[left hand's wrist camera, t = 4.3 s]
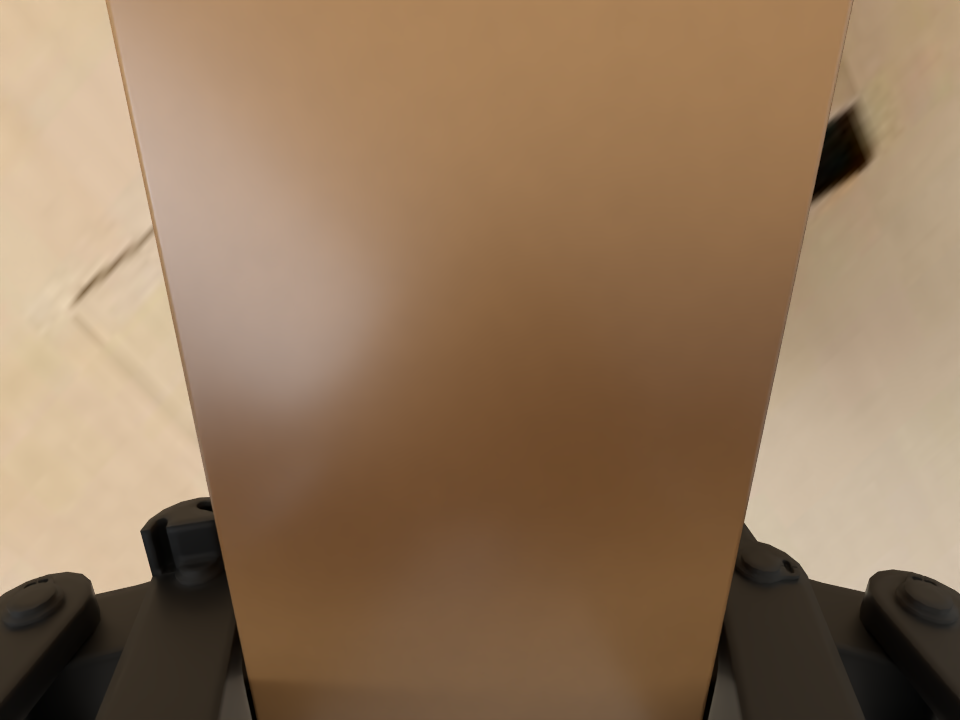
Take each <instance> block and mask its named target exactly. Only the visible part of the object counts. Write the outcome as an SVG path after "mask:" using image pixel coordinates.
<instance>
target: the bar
mask: <svg viewBox="0 0 960 720" xmlns="http://www.w3.org/2000/svg"><path fill="white" fill-rule="evenodd" d="M106 5H107V9H108V14H109V19H110V24H111V28H112V33H113V38H114V43H115V47H116V52H117V57H118V62H119V66H120V71H121V76H122V81H123V86H124V90H125V95H126V100H127V105H128V109H129V114H130V119H131V124H132V128H133V133H134V138H135V143H136V147H137V152H138V157H139V162H140V166H141V171H142V176H143V181H144V185H145V190H146V195H147V200H148V204H149V209H150V214H151V219H152V223H153V228H154V233H155V238H156V243H157V247H158V252H159V257H160V262H161V266H162V271H163V276H164V281H165V285H166V290H167V295H168V300H169V304H170V309H171V314H172V319H173V323H174V328H175V333H176V338H177V342H178V347H179V352H180V357H181V361H182V366H183V371H184V376H185V381H186V385H187V390H188V395H189V400H190V404H191V409H192V414H193V419H194V423H195V428H196V433H197V438H198V442H199V447H200V452H201V457H202V461H203V466H204V471H205V476H206V480H207V485H208V490H209V495H210V499H211V504H212V509H213V514H214V519H215V523H216V528H217V533H218V538H219V542H220V547H221V552H222V557H223V561H224V566H225V571H226V576H227V580H228V585H229V590H230V595H231V599H232V604H233V609H234V614H235V618H236V623H237V628H238V633H239V637H240V642H241V647H242V652H243V657H244V661H245V666H246V671H247V676H248V680H249V685H250V690H251V695H252V699H253V704H254V709H255V714H256V718H257V720H703V715H704V710H705V705H706V701H707V696H708V691H709V686H710V682H711V677H712V672H713V667H714V662H715V658H716V653H717V648H718V643H719V639H720V634H721V629H722V624H723V620H724V615H725V610H726V605H727V600H728V596H729V591H730V586H731V581H732V577H733V572H734V567H735V562H736V558H737V553H738V548H739V543H740V539H741V534H742V529H743V524H744V519H745V515H746V510H747V505H748V500H749V496H750V491H751V486H752V481H753V477H754V472H755V467H756V462H757V457H758V453H759V448H760V443H761V438H762V434H763V429H764V424H765V419H766V415H767V410H768V405H769V400H770V395H771V391H772V386H773V381H774V376H775V372H776V367H777V362H778V357H779V353H780V348H781V343H782V338H783V334H784V329H785V324H786V319H787V314H788V310H789V305H790V300H791V295H792V291H793V286H794V281H795V276H796V272H797V267H798V262H799V257H800V252H801V248H802V243H803V238H804V233H805V229H806V224H807V219H808V214H809V210H810V205H811V200H812V195H813V190H814V186H815V181H816V176H817V171H818V167H819V162H820V157H821V152H822V148H823V143H824V138H825V133H826V129H827V124H828V119H829V114H830V109H831V105H832V100H833V95H834V90H835V86H836V81H837V76H838V71H839V67H840V62H841V57H842V52H843V47H844V43H845V38H846V33H847V28H848V24H849V19H850V14H851V9H852V5H853V0H106Z"/></svg>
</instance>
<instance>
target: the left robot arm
mask: <svg viewBox="0 0 960 720" xmlns="http://www.w3.org/2000/svg"><path fill="white" fill-rule="evenodd" d="M140 532H141V535H142V539H143V543H144V546H145V550H146V554H147V557H148V561H149V565H150V569H151V572H152V576H153V577H152V579H151V581H150V582H146V583H143V584H140V585H136V586H131V587H127V588H123V589H118V590H114V591H109V592H105V593H100V594H96V595H95V593H94V589H93V586H92V583H91V581H90V580H89V579H88V578H87V577H85V576H84V575H83V574H79V573H72V572H63V573H56V574H49V575H45V576H42V577H39V578H35V579H33V580H30V581H27V582H25V583H23V584H21V585H19V586H18V587H16V588H14V589H12V590H10V591H8V592H6V593H5V594H3V595H2V596H1V597H0V720H257V718H256V714H255V709H254V704H253V699H252V695H251V690H250V685H249V680H248V676H247V671H246V666H245V661H244V657H243V652H242V647H241V642H240V637H239V633H238V628H237V623H236V618H235V614H234V609H233V604H232V599H231V595H230V590H229V585H228V580H227V576H226V571H225V566H224V561H223V557H222V552H221V547H220V542H219V538H218V533H217V528H216V523H215V519H214V514H213V509H212V504H211V499H210V497H202V498H196V499H192V500H187V501H183V502H180V503H178V504H175V505H173V506H171V507H169V508H166V509H164V510H162V511H161V512H160V513H158V514H157V515H155V516H154V517H152V518H151V519H150V520H149V521H148V522H147V523H146V524H145V526H144V527H143V528H142V529H141V531H140ZM703 720H960V594H959V593H958V592H957V591H955V590H953V589H951V588H950V587H948V586H946V585H944V584H942V583H940V582H938V581H936V580H934V579H931V578H929V577H926V576H922V575H920V574H916V573H913V572H907V571H900V570H886V571H879V572H877V573H876V574H874V575H873V576H872V577H871V578H870V579H869V582H868V585H867V588H866V591H865V592H861V591H857V590H852V589H848V588H843V587H839V586H834V585H830V584H825V583H821V582H818V581H814V580H811V579H809V578H808V576H807V574H806V573H805V571H804V570H803V568H802V567H801V566H800V564H799V563H798V562H797V561H795V560H794V559H793V558H791V557H790V556H789V555H788V554H786V553H785V552H783V551H781V550H779V549H777V548H775V547H773V546H771V545H769V544H765V543H761V542H758V541H757V540H756V539H755V537H754V536H753V535H752V533H751V532H750V530H749V529H748V528H747V526H746V525H745V523H744V524H743V529H742V534H741V539H740V543H739V548H738V553H737V558H736V562H735V567H734V572H733V577H732V581H731V586H730V591H729V596H728V600H727V605H726V610H725V615H724V620H723V624H722V629H721V634H720V639H719V643H718V648H717V653H716V658H715V662H714V667H713V672H712V677H711V682H710V686H709V691H708V696H707V701H706V705H705V710H704V715H703Z"/></svg>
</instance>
